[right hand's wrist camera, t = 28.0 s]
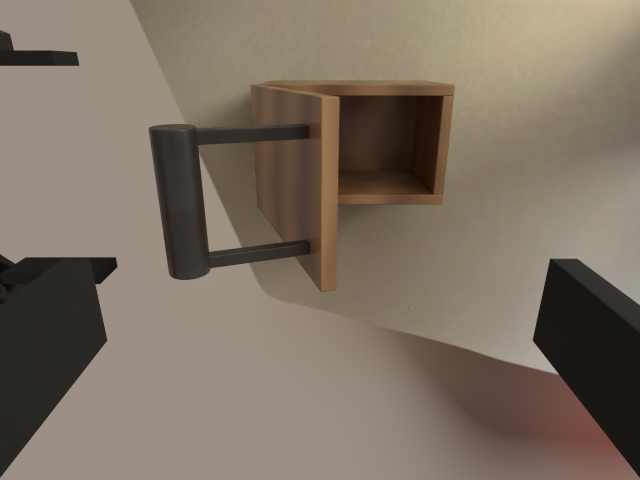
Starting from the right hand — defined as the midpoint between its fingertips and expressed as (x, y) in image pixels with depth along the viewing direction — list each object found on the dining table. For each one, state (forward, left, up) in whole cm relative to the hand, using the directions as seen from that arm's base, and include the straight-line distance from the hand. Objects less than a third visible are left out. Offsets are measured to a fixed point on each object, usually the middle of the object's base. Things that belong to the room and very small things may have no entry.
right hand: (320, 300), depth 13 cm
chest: (-1, +3, -37) cm, 37 cm away
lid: (0, -2, -18) cm, 18 cm away
